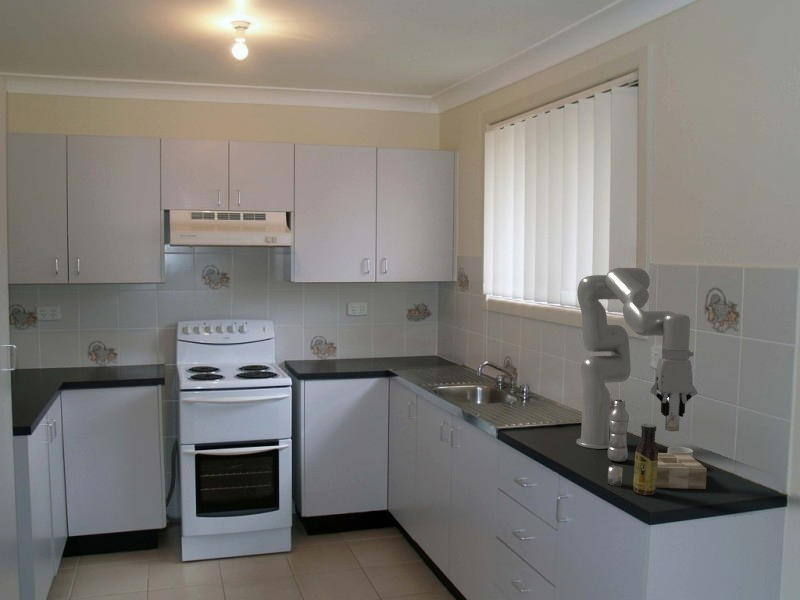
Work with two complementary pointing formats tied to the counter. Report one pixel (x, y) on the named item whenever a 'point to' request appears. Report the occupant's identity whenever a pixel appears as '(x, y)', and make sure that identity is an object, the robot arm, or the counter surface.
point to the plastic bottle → (618, 432)
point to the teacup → (680, 450)
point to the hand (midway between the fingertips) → (672, 415)
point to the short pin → (615, 475)
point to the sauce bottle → (646, 462)
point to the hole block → (680, 472)
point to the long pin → (673, 412)
